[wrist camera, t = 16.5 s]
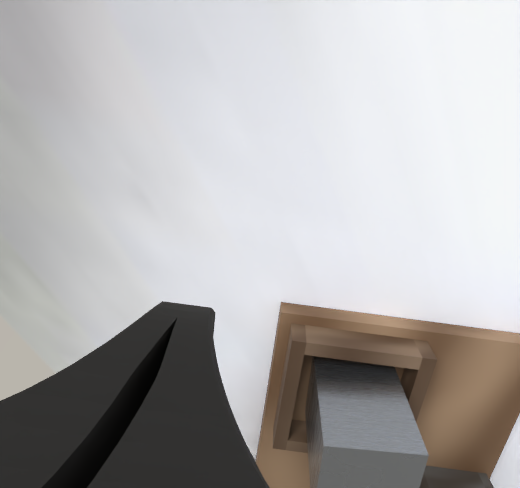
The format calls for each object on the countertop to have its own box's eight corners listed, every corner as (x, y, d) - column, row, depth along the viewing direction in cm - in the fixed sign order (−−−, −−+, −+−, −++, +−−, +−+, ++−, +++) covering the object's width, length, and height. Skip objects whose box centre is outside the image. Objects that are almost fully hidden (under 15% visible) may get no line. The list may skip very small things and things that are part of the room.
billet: (390, 357, 21) (429, 455, 16) (377, 417, 23) (408, 526, 17) (313, 350, 21) (323, 445, 16) (305, 410, 23) (312, 517, 17)
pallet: (538, 336, 22) (570, 368, 19) (453, 527, 27) (470, 571, 25) (281, 302, 22) (280, 330, 19) (249, 500, 27) (246, 541, 25)
